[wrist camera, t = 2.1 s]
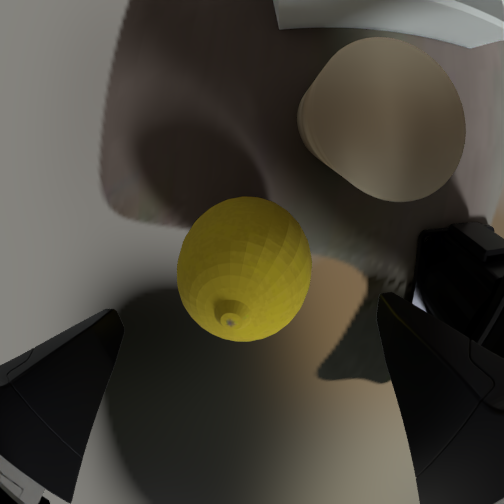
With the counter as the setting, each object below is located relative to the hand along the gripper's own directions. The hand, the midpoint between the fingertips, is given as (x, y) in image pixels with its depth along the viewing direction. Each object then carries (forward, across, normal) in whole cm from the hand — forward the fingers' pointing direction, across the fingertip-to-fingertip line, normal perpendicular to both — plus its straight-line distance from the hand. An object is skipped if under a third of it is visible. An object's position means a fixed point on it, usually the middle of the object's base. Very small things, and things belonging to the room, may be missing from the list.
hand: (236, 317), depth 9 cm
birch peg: (+8, -5, -6) cm, 11 cm away
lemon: (+8, 0, 0) cm, 8 cm away
